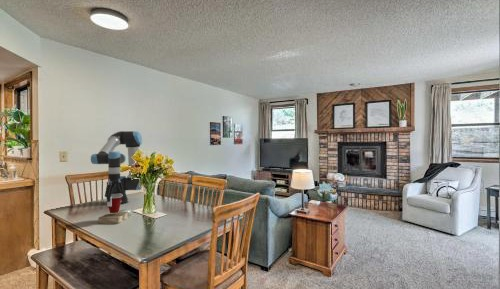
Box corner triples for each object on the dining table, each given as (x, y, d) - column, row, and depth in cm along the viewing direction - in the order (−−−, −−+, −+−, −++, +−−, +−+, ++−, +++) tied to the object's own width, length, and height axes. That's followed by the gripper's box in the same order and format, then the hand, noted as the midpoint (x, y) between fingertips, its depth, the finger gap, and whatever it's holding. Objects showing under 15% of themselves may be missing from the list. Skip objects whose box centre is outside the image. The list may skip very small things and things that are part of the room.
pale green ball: (123, 214, 193) (123, 209, 193) (133, 214, 193) (133, 209, 193) (116, 217, 185) (116, 212, 185) (127, 217, 185) (127, 212, 185)
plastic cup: (107, 215, 169) (107, 197, 169) (103, 211, 177) (103, 195, 177) (124, 212, 177) (125, 195, 177) (120, 209, 185) (120, 193, 185)
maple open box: (110, 217, 184) (110, 212, 184) (129, 217, 184) (129, 212, 184) (98, 223, 170) (98, 217, 170) (118, 223, 170) (118, 217, 170)
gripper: (118, 171, 189) (118, 200, 189) (98, 175, 165) (98, 208, 166) (128, 171, 188) (128, 200, 188) (109, 175, 165) (109, 208, 165)
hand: (114, 204), depth 177 cm, fingers closed on plastic cup, 11 cm apart
